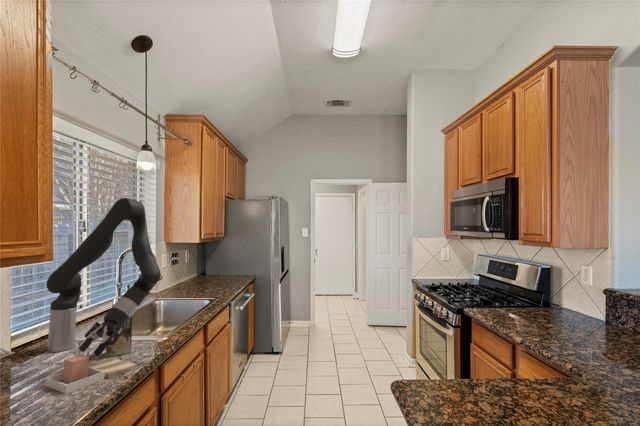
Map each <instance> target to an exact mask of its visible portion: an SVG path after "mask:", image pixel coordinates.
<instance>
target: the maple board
mask: <svg viewBox="0 0 640 426" xmlns="http://www.w3.org/2000/svg"><path fill="white" fill-rule="evenodd" d="M88 367H91V368H94V369H98V370H101V371H104V372H105V377H104V378H106V379H112V378H114V377H117V376H120V375H122V374H125V373H127V372H131V371H133V370H135V369H137V364H136V363H133V362H129V361H125V360H122V359H118V358H114V357H110V358H107V359H104V360H101V361H98V362H95V363H92V364H89V365H88Z"/></svg>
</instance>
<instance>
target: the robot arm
mask: <svg viewBox="0 0 640 426" xmlns="http://www.w3.org/2000/svg"><path fill="white" fill-rule="evenodd" d="M146 216H147V215H146V209H145V206H144V204H143V203H142V202H141V201H138V200H136V199H132V198H128V197H123V198H122V197H121V198H119V199H118V200H116V202H114V204H113V205H112V207H111V208H110V209H109V210H108V212H107V213H106V215H105V216H104V217H103V219H102V220H101V222H99V224H97V226H96V227H95V228H94V229H93V231H92V232H91V233H90V234H89V235H88V236H87V237H86V238H85V239H84V240H83V241H82V242H81V244H80V245H79V246H78V247H77V248H76V249H75V251H74V252H73V253H71V254H70V256H69V257H68V258H67V259H66V260H65V261H64V262H63V263H62V264H61V265H60V266H59V267H57V269H55V270H54V271H53V272H52V273H51V274H50V275H49V276H48V278H47V279H46V289H47V291H49V292H50V293H52V294H58V296H57V297H56V298H55V299H54V300H52V302H51V303H50V309H49V326H48V334H47V335H48V336H47V337H48V338H47V351H48V352H51V353H54V352H55V353H56V352H57V353H58V352H63V351H68V350H71V349H73V348H75V346H76V345H75V344H76V331H77V330H76V328H77V311H78V302H79V301H80V298H81V289H82V278H81V277H82V276H81V274H80V271H82V270H83V269H85V268H86V267H88V266H90V265H91V264H93V263H95V262H96V261H97V260H99V259H100V258H101V257H102V256H104V254H105V253H106V252H107V250H108V249H109V248H110V247H111V245H112V243H113V239H114V233H115V232H116V229H117V228H118V227H119V225H121V223H123V221H130V224H131V226H132V229H133V237H132V240H131V252H132V255H133V259H134V262H135V265H136V266H138V268H139V270H140V276H139V277H138V279H136V280H135V282H134V284H132V285H131V287H129V288H128V289H127V290H126V292H125V293H124V294H123V295H122V296H121V297H120V298H119V300H117V301H116V302H115V303H114V304H113V306H112V307H110V309H109V311H108V312H107V313H106V314H105V315H104V316H103V322H102V323H99V322H98V321H96V322H95V323H94V324H93V325H92V326H91V327H90V329H89V330H87V332H86V333H85V334H84V336H83V337H84V338H85V339H84V341H83V342H82V344H81V345H80V346H79V347H78V350H79V351H80V352H82V353H85V352H86V350H87V349H88V348H89V347H90V346H91V345H92V343H93V342H95V341H96V340H99V339H102V341H101V342H100V344H99V345H98V346H96V348H95V350H94V351H93V352H92V353H93V355H95V356H96V357H99V356H100V355H101V354H102V353H103V352H104V351H105V350H106V347H107V346H109V345H111V346H112V345H114V344H115V342H116V341H117V339H118V338H119V337H120V335H121V334H122V333H123V331H124V330H122V329H121V328H122V327H123V326H124V325H125V324H126V322H127V321H128V320H129V318H130V317H131V316H132V317H133V315H134V313H135V312H136V311H137V309H138V308H139V306H140V305H141V304H142V302H143V301H144V300H145V298H146V296H147V295H148V294H149V293H150V292H151V290H152V289H153V288H154V287H155V286H156V285H157V284H158V282H159V281H160V279H161V270H160V267H159V265H158V263H157V262H156V260H155V258H154V254H153V250H152V248H151V247H152V246H151V243H150V240H149V234H148V225H147V217H146ZM113 337H114V340H113V341H112V338H113Z"/></svg>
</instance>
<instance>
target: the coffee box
mask: <svg viewBox="0 0 640 426" xmlns="http://www.w3.org/2000/svg"><path fill="white" fill-rule="evenodd" d="M121 329H122V330H124V331H123V333H122V334H121V335H120V337H119V338H118V339H117V341H116V342H115V344H114V345H112V346H111V345H109V346H107V347H106V348H105V358H109V357H110V358H111V357H115V356H120V355H126V354H127V355H128V354H131V353H132V340H133V337H132V336H133V333H132V332H133V315H132V316H131V317H130V318H129V320H128V321H127V322H126V324H125V325H124V326H123V327H122V328H121ZM113 340H114V337H113V338H112V341H113Z"/></svg>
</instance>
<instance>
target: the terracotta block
mask: <svg viewBox="0 0 640 426" xmlns="http://www.w3.org/2000/svg"><path fill="white" fill-rule="evenodd" d="M89 360H90V356H86V355H83V354H78V355H74V356H71V357H67V358H65V359H63V371H62V372H63V380H62V383H64V384H70V383H73V382H76V381H78V380H81V379H84V378H87V377H89V375H88V366H89V365H90V364H89V363H90V361H89Z"/></svg>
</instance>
